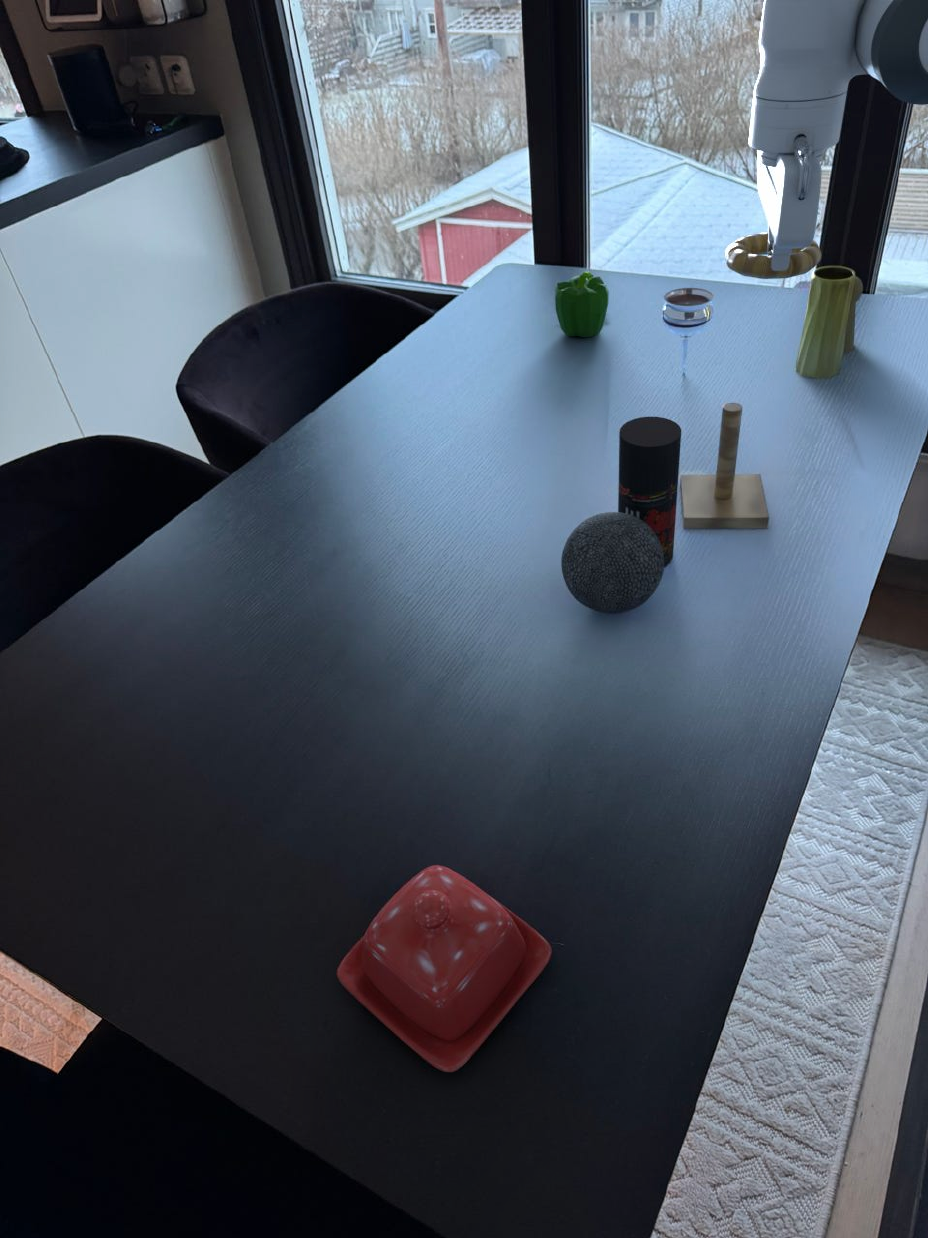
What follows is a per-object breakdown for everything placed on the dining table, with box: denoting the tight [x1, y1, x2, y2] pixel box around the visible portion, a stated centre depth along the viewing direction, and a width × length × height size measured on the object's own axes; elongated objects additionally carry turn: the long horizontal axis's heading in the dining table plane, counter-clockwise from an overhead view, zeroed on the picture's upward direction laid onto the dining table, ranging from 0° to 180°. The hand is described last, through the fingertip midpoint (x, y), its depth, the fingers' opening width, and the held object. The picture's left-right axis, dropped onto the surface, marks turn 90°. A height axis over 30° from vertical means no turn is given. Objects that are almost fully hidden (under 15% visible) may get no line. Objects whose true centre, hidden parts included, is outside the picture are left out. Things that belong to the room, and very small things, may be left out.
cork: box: [843, 275, 864, 355], centre depth 123 cm, size 6×6×11 cm
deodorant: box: [617, 416, 682, 568], centre depth 91 cm, size 6×6×15 cm
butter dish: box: [336, 864, 553, 1073], centre depth 59 cm, size 12×12×8 cm
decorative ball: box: [560, 511, 665, 614], centre depth 87 cm, size 10×10×10 cm
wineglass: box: [661, 286, 715, 375], centre depth 121 cm, size 7×7×12 cm
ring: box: [724, 232, 822, 280], centre depth 102 cm, size 10×10×2 cm
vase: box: [794, 265, 856, 379], centre depth 118 cm, size 6×6×14 cm
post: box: [679, 402, 770, 530], centre depth 97 cm, size 9×9×12 cm
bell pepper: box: [554, 270, 610, 338], centre depth 138 cm, size 8×8×10 cm
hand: (776, 262), depth 99 cm, fingers closed on ring, 2 cm apart
